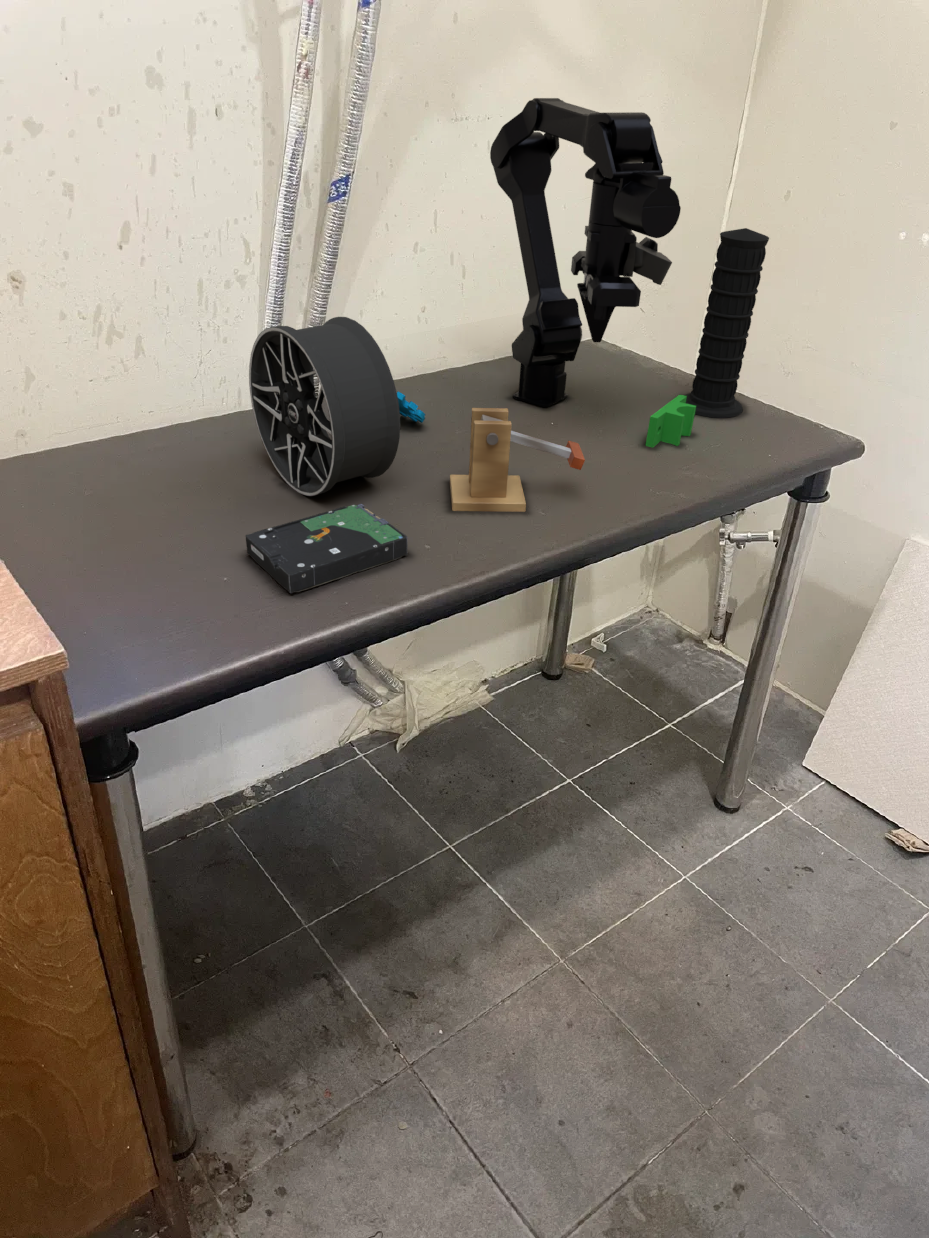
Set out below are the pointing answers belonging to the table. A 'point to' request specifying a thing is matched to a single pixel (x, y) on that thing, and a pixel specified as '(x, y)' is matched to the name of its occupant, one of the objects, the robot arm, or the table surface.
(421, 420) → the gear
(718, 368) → the handle grip
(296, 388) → the wheel rim
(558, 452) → the lever
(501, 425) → the bracket
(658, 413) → the pipe clamp
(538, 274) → the robot arm
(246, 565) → the table surface
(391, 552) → the disk drive
